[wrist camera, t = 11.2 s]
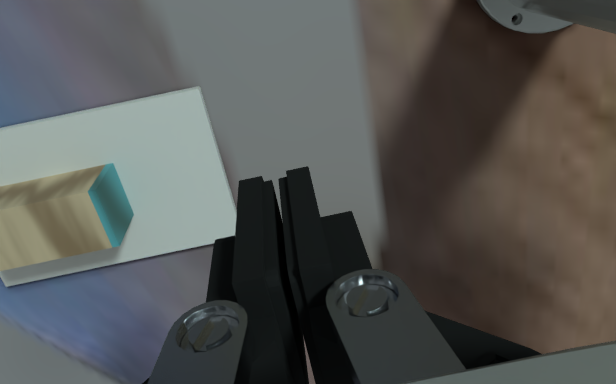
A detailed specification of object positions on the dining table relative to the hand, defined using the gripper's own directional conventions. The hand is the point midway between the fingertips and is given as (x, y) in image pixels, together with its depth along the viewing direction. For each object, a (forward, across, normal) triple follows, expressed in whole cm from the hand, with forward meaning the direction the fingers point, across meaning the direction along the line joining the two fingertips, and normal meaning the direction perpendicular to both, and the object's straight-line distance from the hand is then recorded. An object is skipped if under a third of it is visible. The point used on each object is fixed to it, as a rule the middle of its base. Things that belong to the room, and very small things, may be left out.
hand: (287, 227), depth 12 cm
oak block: (+26, +14, +10) cm, 31 cm away
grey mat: (+29, +17, +10) cm, 35 cm away
